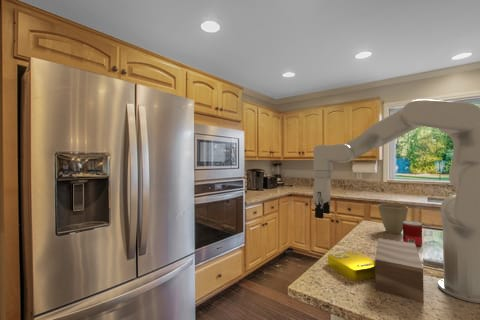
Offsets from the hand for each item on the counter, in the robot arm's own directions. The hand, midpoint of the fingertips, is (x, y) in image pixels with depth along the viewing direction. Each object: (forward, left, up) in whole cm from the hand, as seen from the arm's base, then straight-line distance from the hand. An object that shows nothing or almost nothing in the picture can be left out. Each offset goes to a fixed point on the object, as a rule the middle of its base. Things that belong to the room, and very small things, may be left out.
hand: (322, 215), depth 95 cm
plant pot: (-66, +25, -21) cm, 74 cm away
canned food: (-48, +33, -21) cm, 62 cm away
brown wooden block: (-2, +25, -20) cm, 33 cm away
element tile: (-2, +11, -21) cm, 24 cm away
